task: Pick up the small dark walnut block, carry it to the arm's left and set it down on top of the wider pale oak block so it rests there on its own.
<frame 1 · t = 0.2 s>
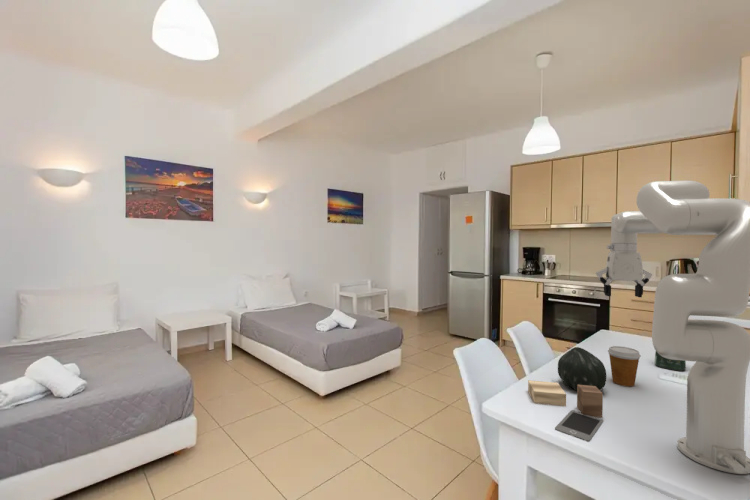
hand: (622, 296, 122), 31 cm above the table, fingers open, 9 cm apart
smartphone: (579, 427, 93), on the table
squash: (581, 388, 118), on the table
oak base block: (546, 399, 110), on the table
disposable coffee cup: (623, 383, 122), on the table
coffee jar: (669, 367, 139), on the table
walnut block: (589, 412, 101), on the table
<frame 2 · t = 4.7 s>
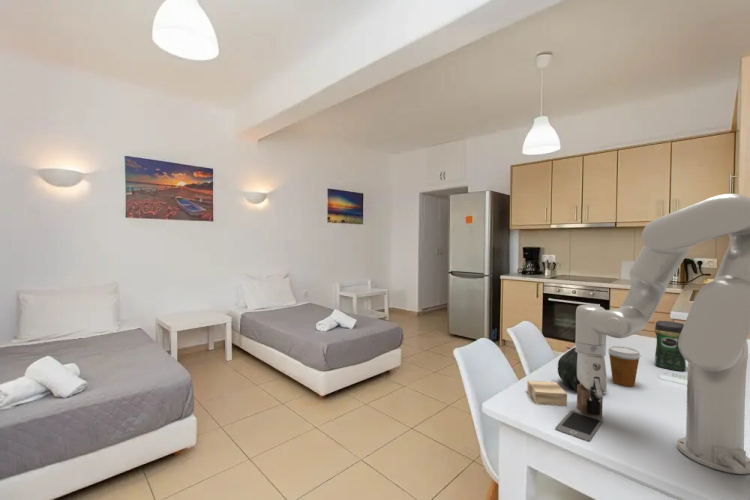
hand: (589, 409, 101), 1 cm above the table, fingers closed on walnut block, 5 cm apart
walnut block: (589, 412, 101), on the table, touching gripper
everything else where it was.
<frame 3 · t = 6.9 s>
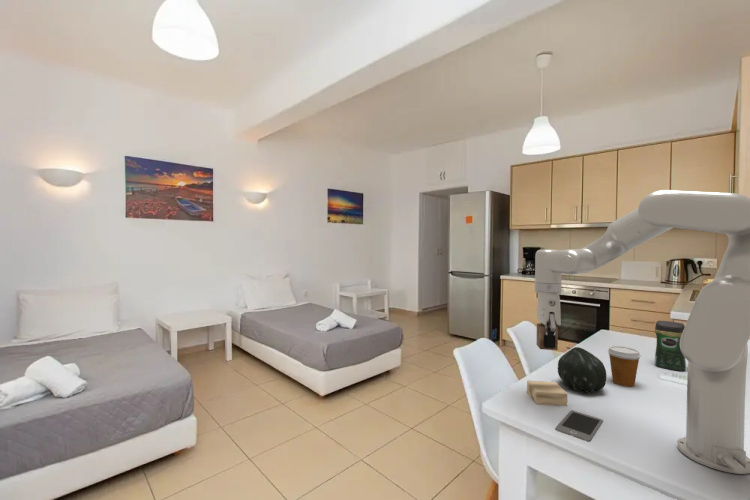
hand: (546, 344, 109), 17 cm above the table, fingers closed on walnut block, 5 cm apart
walnut block: (546, 347, 109), point 16 cm above the table, touching gripper
everything else where it was.
when the fingers open (6 cm above the table, at t = 9.6 s): walnut block drops 2 cm, point 4 cm above the table.
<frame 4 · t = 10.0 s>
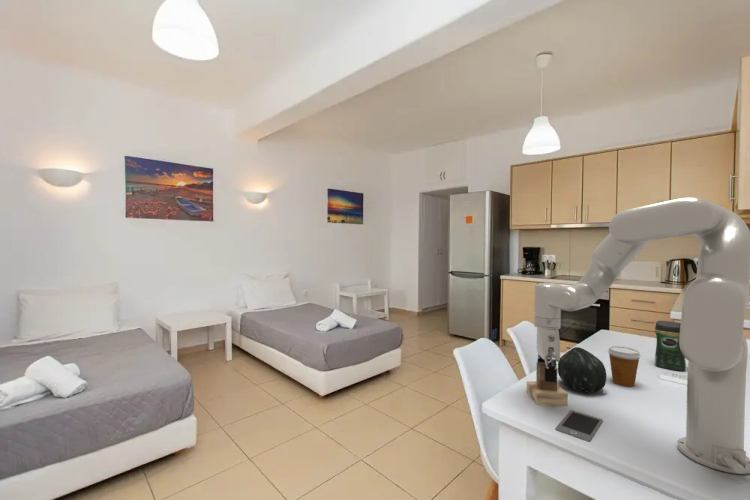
hand: (546, 375, 110), 7 cm above the table, fingers open, 9 cm apart
walnut block: (546, 386, 110), point 4 cm above the table
everything else where it was.
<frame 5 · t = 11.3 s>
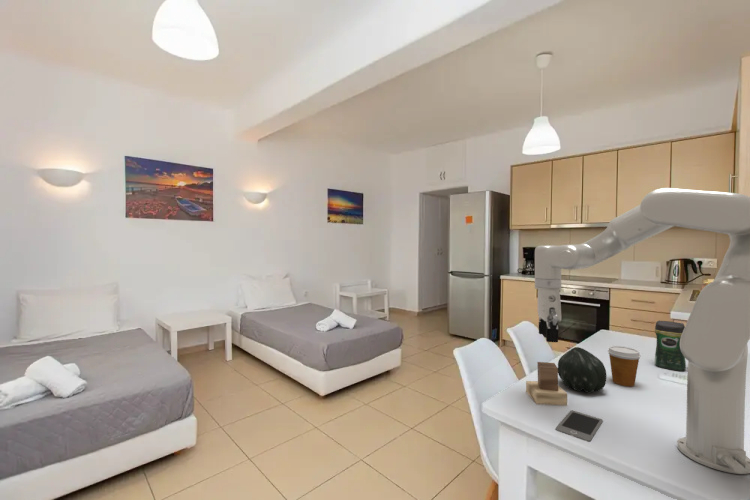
hand: (547, 337, 109), 19 cm above the table, fingers open, 9 cm apart
oak base block: (545, 399, 110), on the table, touching walnut block
walnut block: (547, 386, 110), point 4 cm above the table, touching oak base block
everything else where it was.
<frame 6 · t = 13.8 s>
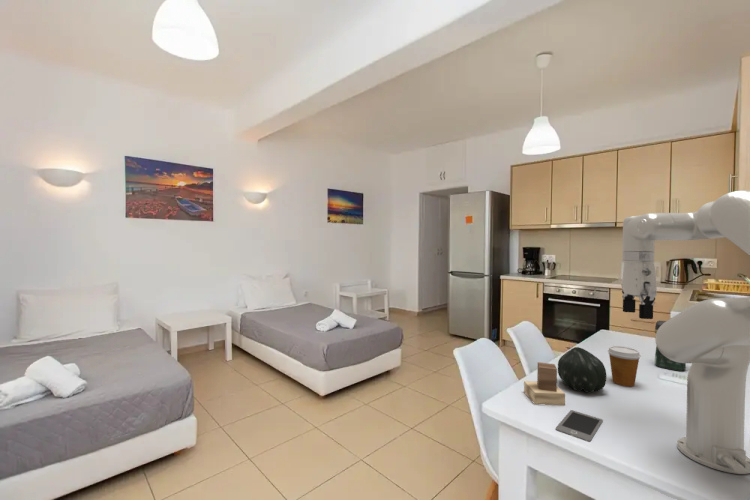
hand: (637, 315, 102), 28 cm above the table, fingers open, 9 cm apart
nothing on the table moved.
at the end: walnut block inside the target area on the oak base block (0.8 cm from its centre), point 4.0 cm above the oak base block's base; walnut block tilted 1°; the gripper is holding nothing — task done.
